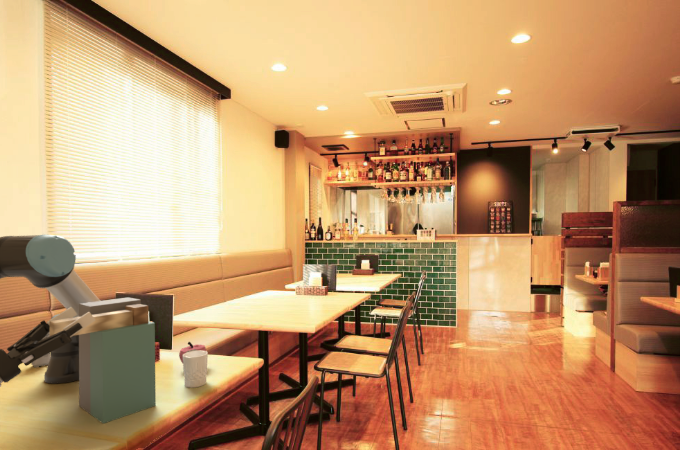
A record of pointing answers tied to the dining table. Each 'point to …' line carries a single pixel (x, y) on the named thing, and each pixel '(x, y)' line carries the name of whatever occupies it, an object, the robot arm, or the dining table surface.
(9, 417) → the dining table surface
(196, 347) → the apple
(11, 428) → the dining table surface
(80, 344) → the stand
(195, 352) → the white cup
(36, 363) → the energy drink can
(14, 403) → the dining table surface
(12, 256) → the robot arm
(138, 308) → the wooden bar
